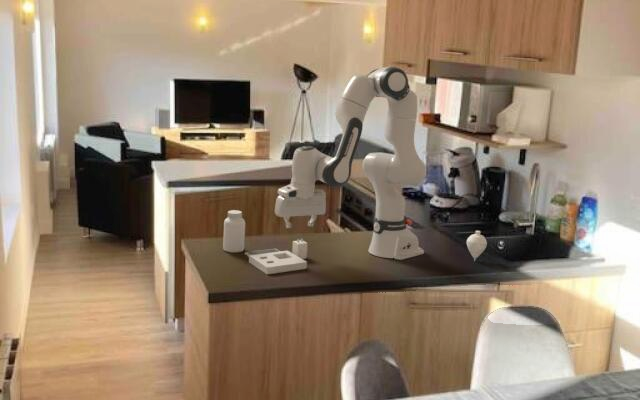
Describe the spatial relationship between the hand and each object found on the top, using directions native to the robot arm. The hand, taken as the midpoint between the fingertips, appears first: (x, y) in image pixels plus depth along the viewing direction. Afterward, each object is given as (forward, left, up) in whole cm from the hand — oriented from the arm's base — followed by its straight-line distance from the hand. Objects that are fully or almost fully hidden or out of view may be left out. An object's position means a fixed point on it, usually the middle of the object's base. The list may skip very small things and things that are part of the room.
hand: (299, 226), depth 250 cm
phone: (+10, -7, -12) cm, 18 cm away
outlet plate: (+11, +5, -12) cm, 17 cm away
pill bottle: (+18, -17, -12) cm, 28 cm away
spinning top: (-63, +29, -12) cm, 70 cm away
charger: (-1, 0, -12) cm, 12 cm away
